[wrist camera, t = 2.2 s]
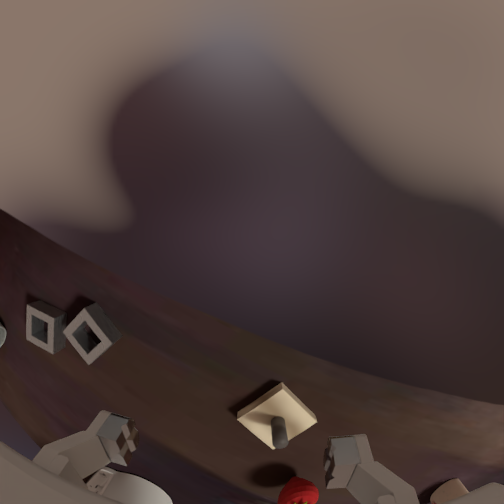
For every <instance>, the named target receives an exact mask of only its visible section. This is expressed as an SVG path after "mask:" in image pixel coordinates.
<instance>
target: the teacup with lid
mask: <svg viewBox="0 0 504 504" xmlns="http://www.w3.org/2000/svg"><path fill="white" fill-rule="evenodd" d="M467 493H469V492H468V490H467V489H466V488H465V487H464V485H463V484H462V483H461V482H460V480H459V479H451V480H449V481H447V482H445V483H444V484H442V485H441V486H440V487H439V488H437V489H436V490H435V491H434V493H433V494H432V495H431V497H430V501H431V503H432V504H441V503H444V502H447V501H449V500H452V499H455V498H457V497H460V496H462V495H465V494H467Z"/></svg>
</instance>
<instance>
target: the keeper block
mask: <svg viewBox="0 0 504 504" xmlns="http://www.w3.org/2000/svg"><path fill="white" fill-rule="evenodd" d="M237 420H238V421H239V422H241V423H242V424H243V425H244V426H245V427H246V428H248V429H249V430H250V431H251V432H252V433H253V434H255V435H256V436H257V437H258V438H259V439H261V440H262V441H263V442H264V443H266V444H267V445H268V446H269V447H271V448H272V449H275V448H284V447H286V446H287V445H288V440H290V439H292V438H293V437H295V436H296V435H298V434H300V433H301V432H303V431H304V430H306V429H307V428H309V427H310V426H312V425H313V424H315V423H316V422H317V420H316V417H315V414H314V413H313V412H312V411H310V410H309V409H308V408H307V407H306V406H305V405H304V404H303V403H302V402H301V401H300V400H299V399H298V398H297V397H296V396H295V395H294V394H293V393H292V392H291V391H290V390H289V389H288V388H287V387H286V386H285V385H284V384H283V383H282V382H281V383H280V384H278V385H277V386H275V387H274V388H273V389H271V390H270V391H268V392H267V393H265V394H264V395H262V396H261V397H260V398H258V399H257V400H255V401H254V402H252V403H251V404H249V405H248V406H246V407H245V408H243V409H241V410H240V411H238V415H237Z"/></svg>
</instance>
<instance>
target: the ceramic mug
mask: <svg viewBox="0 0 504 504" xmlns="http://www.w3.org/2000/svg"><path fill="white" fill-rule="evenodd" d="M5 338H6V329H5V328H4V326H3V325H2V324H1V323H0V347H1V346H2V345H3V343H4V341H5Z"/></svg>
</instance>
